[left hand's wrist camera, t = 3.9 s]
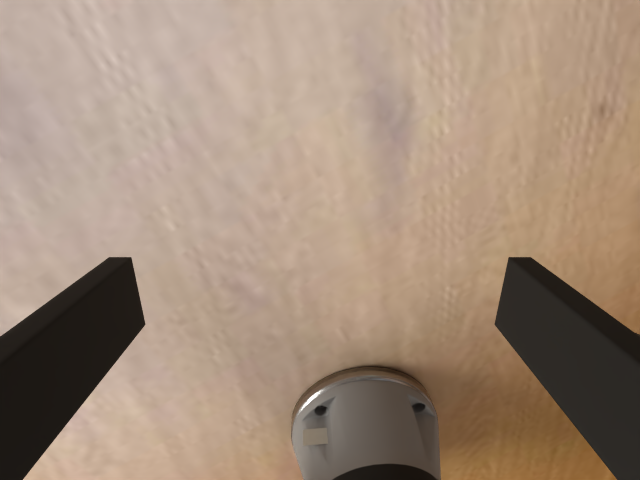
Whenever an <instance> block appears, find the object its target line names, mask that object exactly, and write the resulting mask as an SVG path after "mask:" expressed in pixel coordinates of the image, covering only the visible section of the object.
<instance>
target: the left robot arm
mask: <svg viewBox="0 0 640 480" xmlns="http://www.w3.org/2000/svg"><path fill="white" fill-rule="evenodd" d="M144 326H145V320H144V316H143V311H142V306H141V301H140V297H139V292H138V287H137V282H136V278H135V273H134V268H133V263H132V258H131V257H109V258H108V259H106V260H105V261H104V262H102V263H101V264H99V265H98V266H97V267H95V268H94V269H93V270H91V271H90V272H88V273H87V274H86V275H84V276H83V277H82V278H80V279H79V280H77V281H76V282H75V283H73V284H72V285H71V286H69V287H68V288H66V289H65V290H64V291H62V292H61V293H60V294H58V295H57V296H56V297H54V298H53V299H51V300H50V301H49V302H47V303H46V304H45V305H43V306H42V307H40V308H39V309H38V310H36V311H35V312H34V313H32V314H31V315H29V316H28V317H27V318H25V319H24V320H23V321H21V322H20V323H18V324H17V325H16V326H14V327H13V328H12V329H10V330H9V331H7V332H6V333H5V334H3V335H2V336H0V480H23V479H24V477H25V476H26V475H27V473H28V472H29V471H30V470H31V468H32V467H33V466H34V465H35V463H36V462H37V461H38V460H39V458H40V457H41V456H42V455H43V453H44V452H45V451H46V449H47V448H48V447H49V446H50V444H51V443H52V442H53V441H54V439H55V438H56V437H57V436H58V434H59V433H60V432H61V431H62V429H63V428H64V427H65V425H66V424H67V423H68V422H69V420H70V419H71V418H72V417H73V415H74V414H75V413H76V412H77V410H78V409H79V408H80V406H81V405H82V404H83V403H84V401H85V400H86V399H87V398H88V396H89V395H90V394H91V393H92V391H93V390H94V389H95V388H96V386H97V385H98V384H99V382H100V381H101V380H102V379H103V377H104V376H105V375H106V374H107V372H108V371H109V370H110V369H111V367H112V366H113V365H114V364H115V362H116V361H117V360H118V358H119V357H120V356H121V355H122V353H123V352H124V351H125V350H126V348H127V347H128V346H129V345H130V343H131V342H132V341H133V340H134V338H135V337H136V336H137V334H138V333H139V332H140V331H141V329H142V328H143V327H144ZM495 326H496V327H497V328H498V329H499V331H500V332H501V333H502V334H503V336H504V337H505V338H506V340H507V341H508V342H509V343H510V345H511V346H512V347H513V348H514V350H515V351H516V352H517V353H518V355H519V356H520V357H521V358H522V360H523V361H524V362H525V364H526V365H527V366H528V367H529V369H530V370H531V371H532V372H533V374H534V375H535V376H536V377H537V379H538V380H539V381H540V382H541V384H542V385H543V386H544V388H545V389H546V390H547V391H548V393H549V394H550V395H551V396H552V398H553V399H554V400H555V401H556V403H557V404H558V405H559V406H560V408H561V409H562V410H563V412H564V413H565V414H566V415H567V417H568V418H569V419H570V420H571V422H572V423H573V424H574V425H575V427H576V428H577V429H578V431H579V432H580V433H581V434H582V436H583V437H584V438H585V439H586V441H587V442H588V443H589V444H590V446H591V447H592V448H593V449H594V451H595V452H596V453H597V455H598V456H599V457H600V458H601V460H602V461H603V462H604V463H605V465H606V466H607V467H608V468H609V470H610V471H611V472H612V473H613V475H614V476H615V477H616V479H617V480H640V335H639V334H637V333H634V332H633V331H631V330H630V329H628V328H627V327H626V326H624V325H623V324H622V323H620V322H619V321H617V320H616V319H615V318H613V317H612V316H611V315H609V314H608V313H606V312H605V311H604V310H602V309H601V308H600V307H598V306H597V305H595V304H594V303H593V302H591V301H590V300H589V299H587V298H586V297H584V296H583V295H582V294H580V293H579V292H578V291H576V290H575V289H574V288H572V287H571V286H569V285H568V284H567V283H565V282H564V281H563V280H561V279H560V278H558V277H557V276H556V275H554V274H553V273H552V272H550V271H549V270H547V269H546V268H545V267H543V266H542V265H541V264H539V263H538V262H536V261H535V260H534V259H532V258H531V257H509V258H508V263H507V268H506V273H505V278H504V282H503V287H502V292H501V297H500V301H499V306H498V311H497V316H496V320H495ZM291 437H292V444H293V448H294V452H295V455H296V458H297V461H298V464H299V467H300V470H301V473H302V476H303V479H304V480H441V474H440V452H439V430H438V419H437V414H436V411H435V409H434V406H433V404H432V401H431V399H430V396H429V394H428V393H427V391H426V390H425V388H424V387H423V386H422V385H421V384H420V383H419V382H418V381H416V380H415V379H414V378H412V377H410V376H409V375H406V374H404V373H402V372H399V371H396V370H392V369H388V368H381V367H359V368H352V369H348V370H344V371H340V372H337V373H334V374H332V375H330V376H327V377H325V378H323V379H322V380H320V381H318V382H317V383H315V384H314V385H313V386H311V387H310V388H309V389H308V390H307V391H306V392H305V393H304V394H303V395H302V396H301V398H300V399H299V401H298V402H297V404H296V406H295V408H294V411H293V415H292V431H291Z"/></svg>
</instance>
